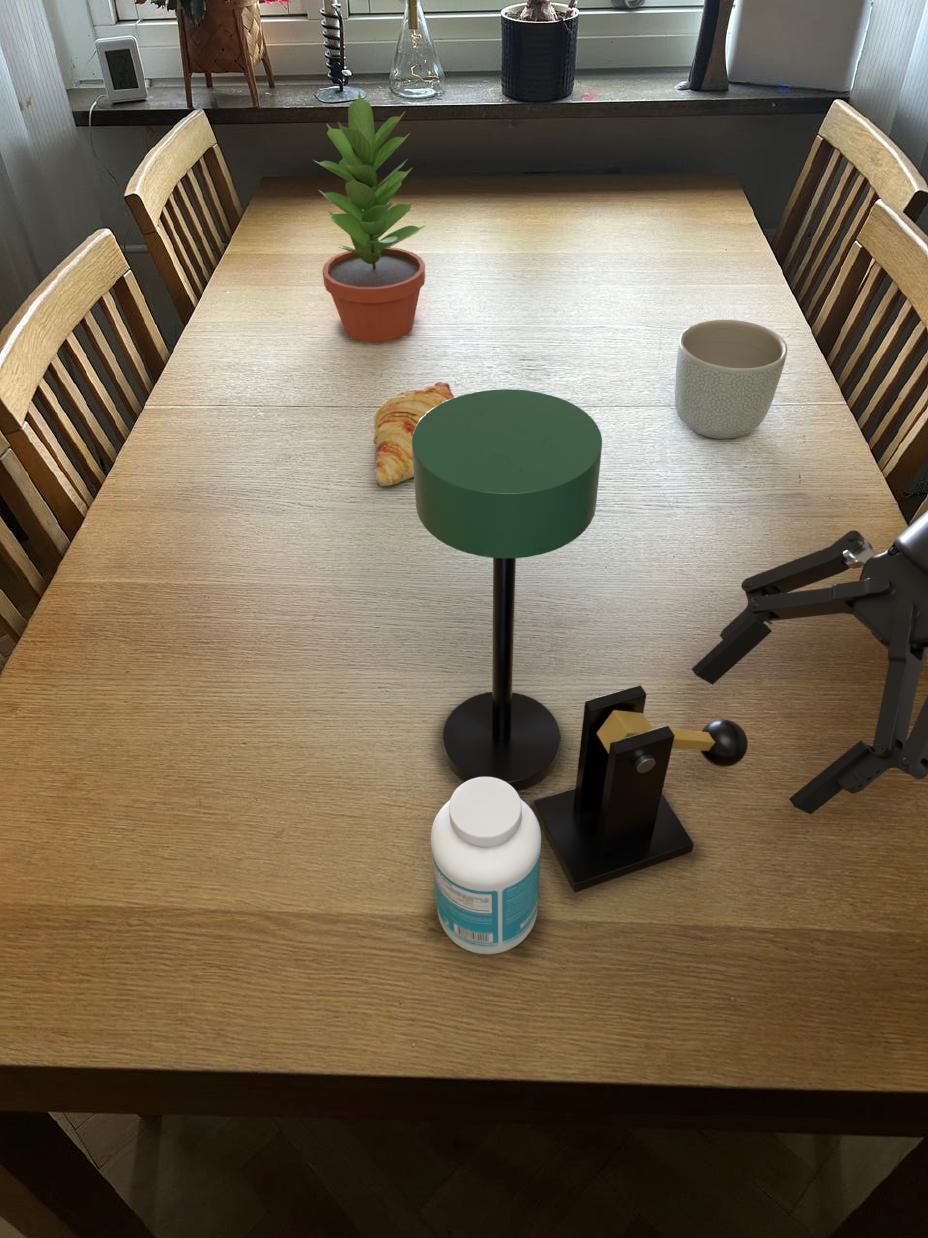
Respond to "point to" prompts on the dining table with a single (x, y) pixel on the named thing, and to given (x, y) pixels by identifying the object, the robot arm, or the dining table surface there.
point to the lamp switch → (683, 736)
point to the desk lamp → (505, 545)
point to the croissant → (402, 430)
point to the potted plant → (371, 235)
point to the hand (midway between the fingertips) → (747, 738)
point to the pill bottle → (486, 866)
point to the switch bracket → (614, 801)
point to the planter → (727, 376)
